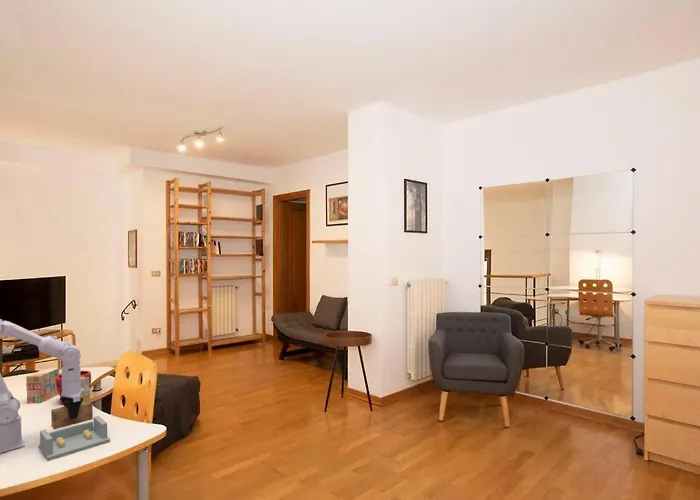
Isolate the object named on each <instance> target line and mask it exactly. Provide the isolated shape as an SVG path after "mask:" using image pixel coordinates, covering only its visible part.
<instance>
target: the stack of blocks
mask: <svg viewBox="0 0 700 500" xmlns="http://www.w3.org/2000/svg"><path fill="white" fill-rule="evenodd" d="M61 374H62V368H59V367H51V368H49V367H47V368H44V369H41V370H39V371H36V372H34V373H32V374H28V375H26V384H25V386H26V403H27V404H42V403H44V402H47V401H49V400H50V399H53V398H54V397H56V396H58V395H59V393H58V391H57V386H56V377H57V376H59V375H61ZM59 396H60V395H59Z"/></svg>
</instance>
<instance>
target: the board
mask: <svg viewBox="0 0 700 500" xmlns="http://www.w3.org/2000/svg"><path fill="white" fill-rule="evenodd" d="M50 411H51V412H50V413H51V415H50V416H51V418H50V419H51V427H52V429H53V430H59V429H60V428H61V429H63V428H67V427H71V426H72V425H73V426H74V425H76V424H77V425H78V424H82V423H86V422H90V421H93V417H94V416H93V403H92V402H91V400H90V401H86V402H82V403H81V405H80V408H79V412H78V416H77V418H75V419H70V417H69V413H68V408H67V406H65V407H64V406H61V407H57V408H56V407H55V408H52V409H51V410H50Z"/></svg>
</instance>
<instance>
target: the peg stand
mask: <svg viewBox="0 0 700 500" xmlns="http://www.w3.org/2000/svg"><path fill="white" fill-rule="evenodd" d="M39 441H40V443H38V445H37V446H38V447H37V448H38V449H39V450H40V452H41V453H42V455H44V457H45V459H46V460H47V461H49V462H50V461H52V460H55V459H58V458H59V459H60V458H62V457H64V456H65V457H66V456H69V455H72V454H74V453H75V454H76V453H78V452H81V451H84V450H87V449H91V448H94V447H98V446H102V445H104V444H107V443H110V442H111V438H110V437H109V436H108V422H106V421H105V420H104V419H103V418H102V417H100V415H95V416H93V419H92V420H90V421H86V422H82V423H79V424H77V425H76V424H75V425H73V426H72V425H71V426H68V427H64V428H61V429H56V430H55V431H50V432H48V431H47V430H46V429H43V430H39Z"/></svg>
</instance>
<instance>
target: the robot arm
mask: <svg viewBox="0 0 700 500" xmlns="http://www.w3.org/2000/svg"><path fill="white" fill-rule="evenodd" d="M0 335H2V336H1V339H5V338H11V337H13V338H15V339H19V340H21V341H23V342H25V343H28V344H31V345H35V346H36V347H37V348H38V352H42V353H44V354H46V355H47V356H51V357H52V358H55V359H60V360H61V362H62V367H61V369H62V393H61V395H62V396H63V397H60V396H59V399H61V400H62V402H63V403H62V404H63V407H65V406H67V408H68V413H69V417H70V419H75V418H77V416H78V412H79V408H80V405H81V403H82V401H83V398H80V394H81V392H84V389H81V376H80V371H81V365H80V364H81V356H82V355H81V351H80V348H78V346H77V345H75V344H71V343H70V342H65V341H63V340H60V339H58V336H56V335H53V336H51V335H48V336H41V335H39V334H37V333H35V332H32V331H31V330H28V329H26V328H25V327H22V326H20V325H17V324H16V323H13V322H11V321H9V320H8V321H7V320H3V319H1V318H0ZM20 408H21V402H20V400H19V399H17V398H16V397H14V395H13V394H12V392H11V391H10V390H9V388H8V387H7V384H6V383H5V380H4V377H3V376H2V373H1V372H0V454H2V453H4V452H9V451H13V450H16V449H20V448H23V447H25V446H26V444H25V443H24V440H22V416H21V415H20V414H19V410H20Z"/></svg>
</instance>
